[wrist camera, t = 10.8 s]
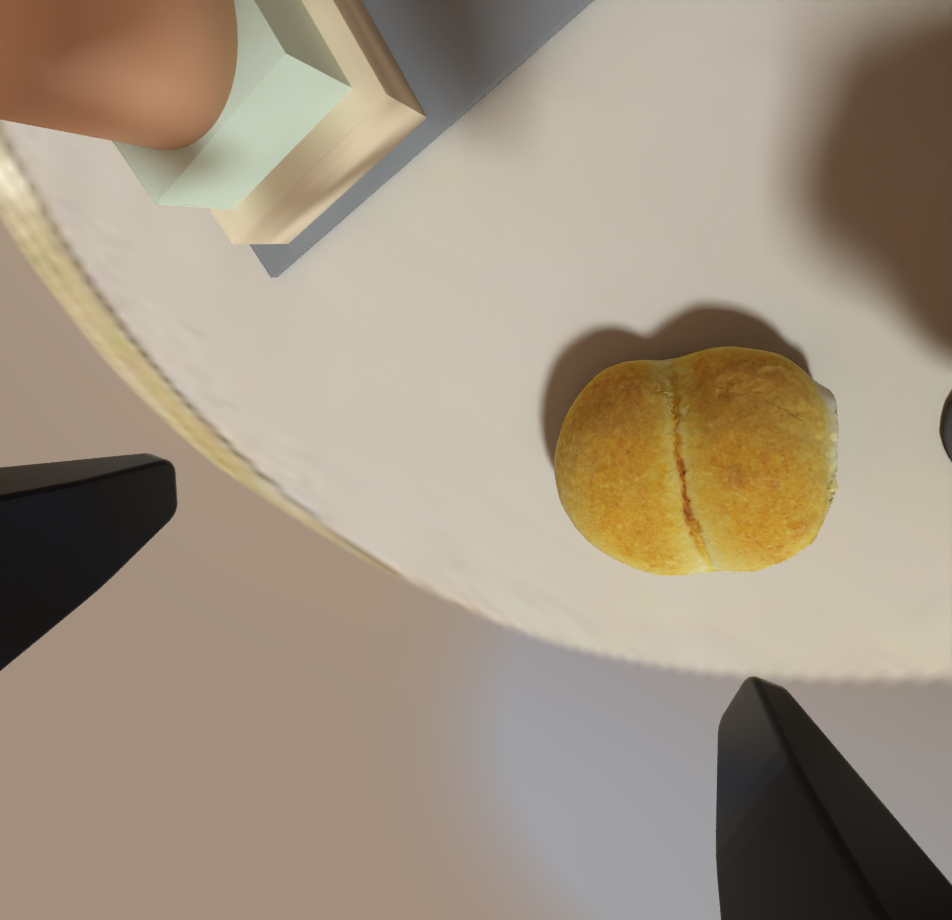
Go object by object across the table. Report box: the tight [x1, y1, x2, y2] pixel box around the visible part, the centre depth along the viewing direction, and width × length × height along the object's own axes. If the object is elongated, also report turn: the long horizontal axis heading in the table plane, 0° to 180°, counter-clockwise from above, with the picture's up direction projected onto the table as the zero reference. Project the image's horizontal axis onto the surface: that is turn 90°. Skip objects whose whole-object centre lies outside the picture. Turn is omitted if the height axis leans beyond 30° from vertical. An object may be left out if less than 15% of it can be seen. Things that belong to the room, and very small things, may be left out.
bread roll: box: [554, 346, 839, 576], centre depth 17 cm, size 8×9×4 cm
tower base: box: [209, 0, 427, 244], centre depth 16 cm, size 7×7×3 cm
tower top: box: [113, 0, 352, 210], centre depth 14 cm, size 6×6×3 cm
